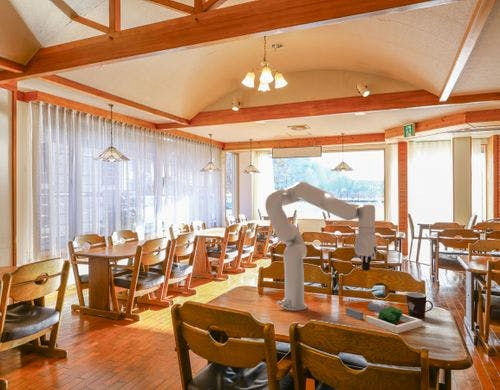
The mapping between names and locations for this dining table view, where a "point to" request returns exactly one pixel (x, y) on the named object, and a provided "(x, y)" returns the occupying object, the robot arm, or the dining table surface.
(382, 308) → the vise
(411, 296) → the coffee mug
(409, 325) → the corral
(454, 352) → the dining table surface
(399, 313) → the green lumpy block
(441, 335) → the dining table surface
